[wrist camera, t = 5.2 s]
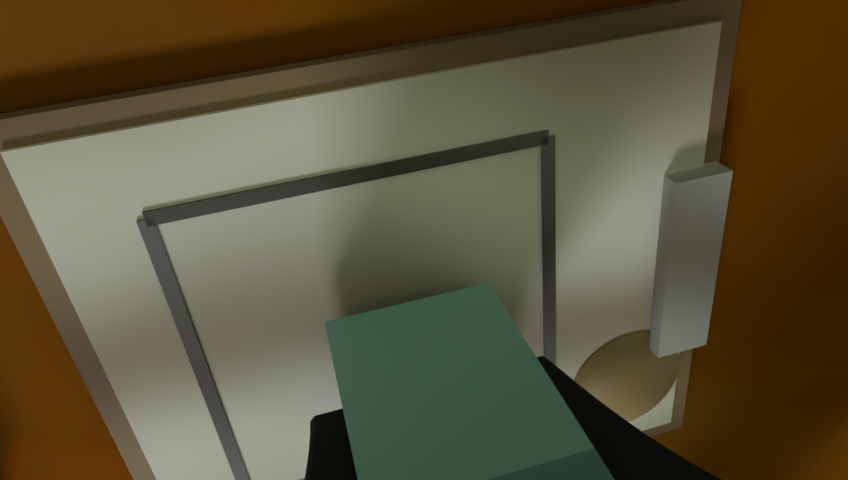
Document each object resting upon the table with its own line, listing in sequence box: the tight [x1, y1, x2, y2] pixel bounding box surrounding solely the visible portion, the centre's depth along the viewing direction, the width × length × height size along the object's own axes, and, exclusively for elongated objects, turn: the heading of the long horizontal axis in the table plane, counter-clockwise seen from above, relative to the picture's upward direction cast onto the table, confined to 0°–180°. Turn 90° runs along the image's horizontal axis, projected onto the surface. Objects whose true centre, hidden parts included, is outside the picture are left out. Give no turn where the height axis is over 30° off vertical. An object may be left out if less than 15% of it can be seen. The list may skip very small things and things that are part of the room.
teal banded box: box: [325, 283, 615, 480], centre depth 12 cm, size 4×4×6 cm
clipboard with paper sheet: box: [0, 0, 742, 480], centre depth 15 cm, size 12×15×1 cm
